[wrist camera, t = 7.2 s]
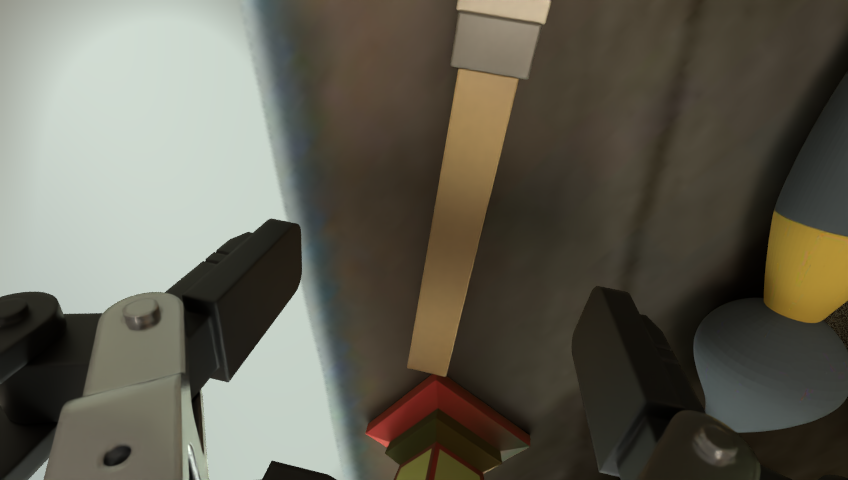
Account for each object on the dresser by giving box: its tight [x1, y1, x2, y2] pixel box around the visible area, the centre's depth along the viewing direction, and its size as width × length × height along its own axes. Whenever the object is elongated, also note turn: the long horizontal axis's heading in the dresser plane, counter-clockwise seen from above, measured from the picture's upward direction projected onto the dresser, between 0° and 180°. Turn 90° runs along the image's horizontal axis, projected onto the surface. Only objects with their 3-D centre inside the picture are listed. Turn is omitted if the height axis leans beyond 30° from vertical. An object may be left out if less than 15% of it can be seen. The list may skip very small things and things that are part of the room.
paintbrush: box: [693, 71, 848, 432], centre depth 14 cm, size 20×5×5 cm, turn 1°
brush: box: [407, 0, 552, 377], centre depth 16 cm, size 20×3×3 cm, turn 172°
